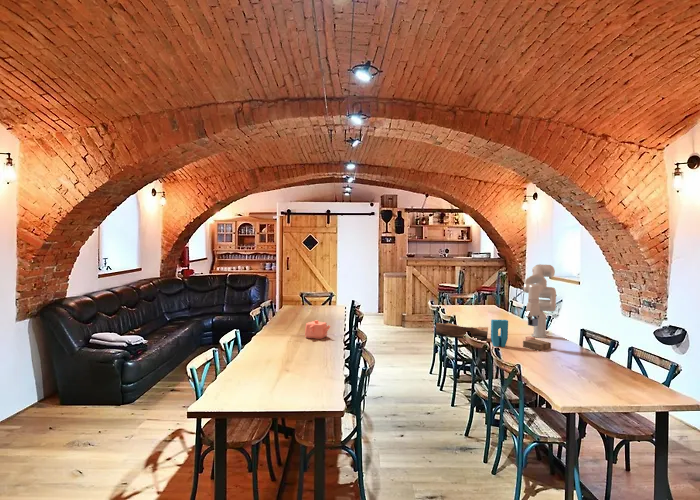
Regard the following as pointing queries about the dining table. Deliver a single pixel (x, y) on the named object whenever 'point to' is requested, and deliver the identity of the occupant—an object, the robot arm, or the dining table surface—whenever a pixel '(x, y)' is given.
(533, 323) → the slate-blue cube
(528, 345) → the walnut base block
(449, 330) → the log
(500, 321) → the block
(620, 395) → the dining table surface
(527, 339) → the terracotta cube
